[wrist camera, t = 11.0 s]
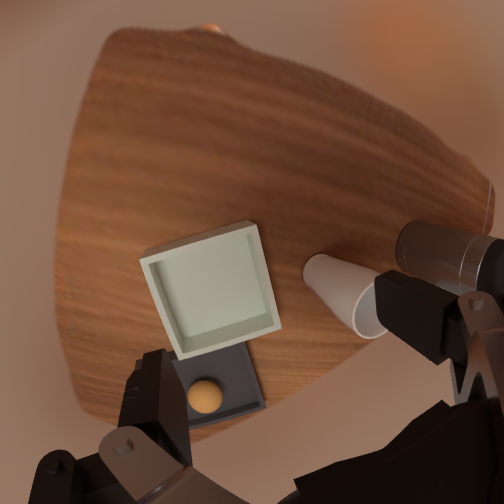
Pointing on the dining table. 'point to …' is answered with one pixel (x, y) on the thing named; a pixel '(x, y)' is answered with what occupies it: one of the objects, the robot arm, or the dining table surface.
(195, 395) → the ball
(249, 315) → the open box
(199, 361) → the tray
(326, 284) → the drinking glass
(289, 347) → the dining table surface
